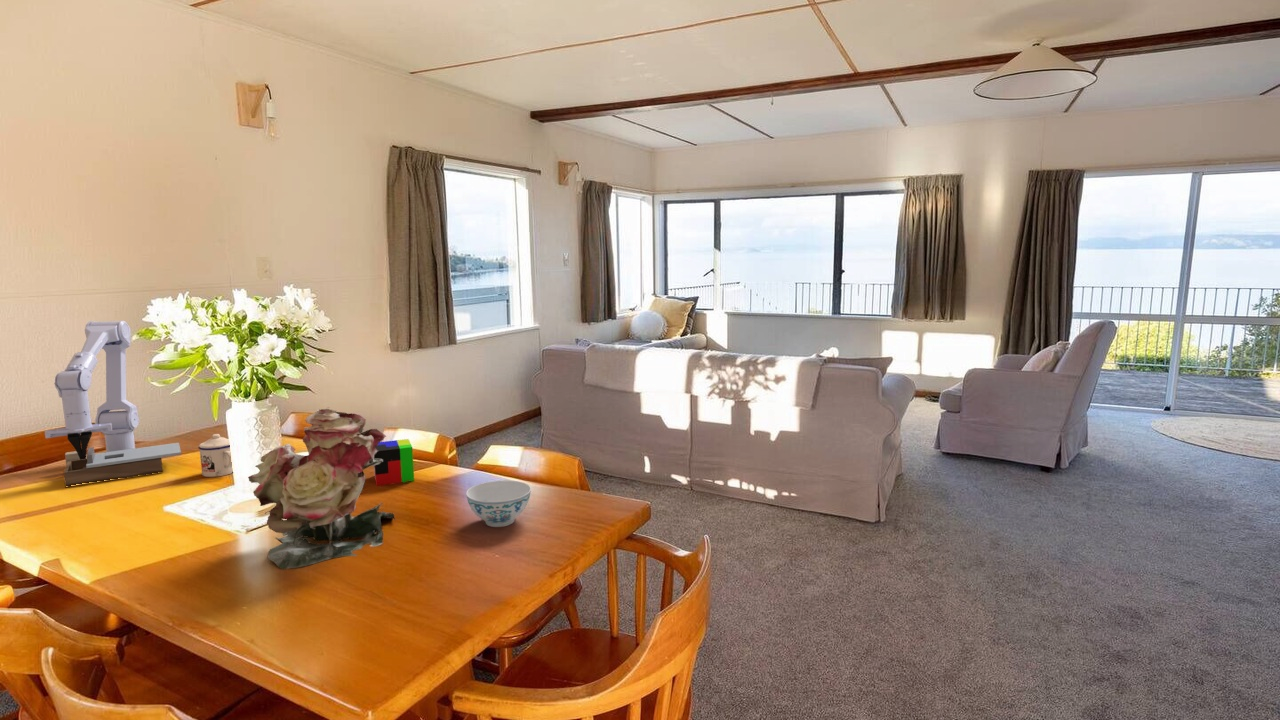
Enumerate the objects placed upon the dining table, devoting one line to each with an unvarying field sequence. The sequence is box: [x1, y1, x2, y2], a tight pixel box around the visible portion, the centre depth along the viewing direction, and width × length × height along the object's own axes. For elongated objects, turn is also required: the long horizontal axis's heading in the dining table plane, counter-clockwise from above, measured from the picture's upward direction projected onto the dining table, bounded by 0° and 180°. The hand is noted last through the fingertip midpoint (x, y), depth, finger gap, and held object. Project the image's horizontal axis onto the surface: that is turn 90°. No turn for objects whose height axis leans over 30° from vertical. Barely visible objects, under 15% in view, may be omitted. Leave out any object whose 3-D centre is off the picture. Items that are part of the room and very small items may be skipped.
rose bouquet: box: [247, 406, 396, 570], centre depth 144 cm, size 26×29×30 cm
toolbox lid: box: [86, 442, 182, 468], centre depth 198 cm, size 14×22×3 cm, turn 127°
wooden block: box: [64, 450, 79, 466], centre depth 197 cm, size 3×3×6 cm
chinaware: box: [465, 480, 532, 528], centre depth 157 cm, size 15×15×8 cm
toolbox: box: [63, 456, 164, 487], centre depth 195 cm, size 14×22×4 cm, turn 127°
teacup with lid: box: [198, 433, 233, 478], centre depth 195 cm, size 12×9×12 cm
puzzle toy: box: [373, 438, 415, 487], centre depth 190 cm, size 10×10×10 cm
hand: (82, 458), depth 190 cm, fingers closed
